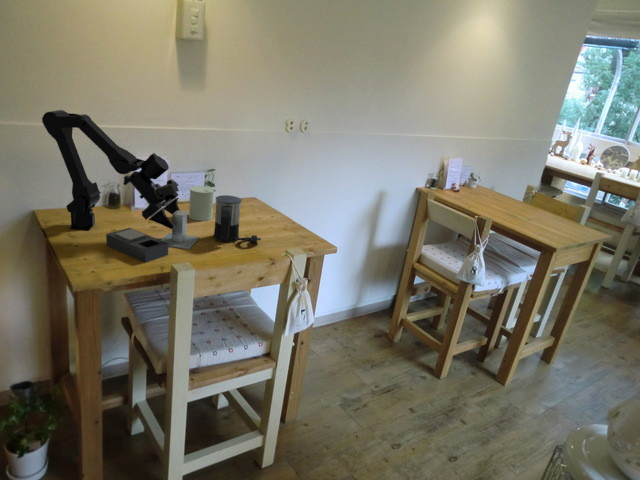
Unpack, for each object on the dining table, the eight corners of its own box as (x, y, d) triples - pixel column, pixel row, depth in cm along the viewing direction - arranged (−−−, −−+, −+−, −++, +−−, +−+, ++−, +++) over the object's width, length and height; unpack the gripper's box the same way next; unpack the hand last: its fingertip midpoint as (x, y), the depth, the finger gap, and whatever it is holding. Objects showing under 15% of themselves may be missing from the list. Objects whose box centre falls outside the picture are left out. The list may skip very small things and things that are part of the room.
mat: (156, 244, 162) (156, 243, 162) (169, 233, 172) (169, 232, 172) (189, 249, 162) (189, 248, 162) (199, 238, 172) (199, 237, 172)
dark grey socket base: (106, 245, 156) (106, 232, 154) (129, 238, 164) (129, 226, 162) (145, 262, 148) (145, 248, 147) (168, 254, 156) (168, 241, 154)
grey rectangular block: (171, 241, 165) (172, 214, 161) (176, 237, 169) (177, 210, 165) (181, 243, 165) (182, 215, 161) (186, 238, 169) (187, 211, 165)
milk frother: (211, 233, 178) (213, 194, 173) (252, 232, 184) (256, 195, 179) (218, 248, 166) (221, 207, 161) (263, 247, 172) (266, 207, 167)
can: (200, 222, 187) (202, 192, 183) (183, 216, 191) (184, 186, 187) (217, 218, 194) (219, 189, 190) (200, 211, 199) (202, 183, 194)
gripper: (152, 179, 150) (185, 218, 154) (173, 167, 168) (203, 202, 171) (127, 200, 153) (160, 238, 157) (151, 186, 171) (180, 220, 174)
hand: (177, 223), depth 165 cm, fingers open, 9 cm apart
